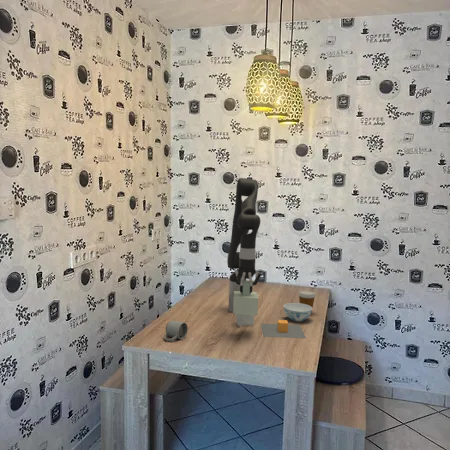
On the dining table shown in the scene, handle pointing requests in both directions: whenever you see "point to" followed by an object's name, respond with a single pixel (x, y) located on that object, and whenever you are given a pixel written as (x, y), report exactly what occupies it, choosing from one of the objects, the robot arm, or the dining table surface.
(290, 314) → the chinaware
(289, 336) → the grey mat
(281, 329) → the orange block
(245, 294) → the sage cover
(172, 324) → the ceramic mug
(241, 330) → the dining table surface
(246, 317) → the supplement box
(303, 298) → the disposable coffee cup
